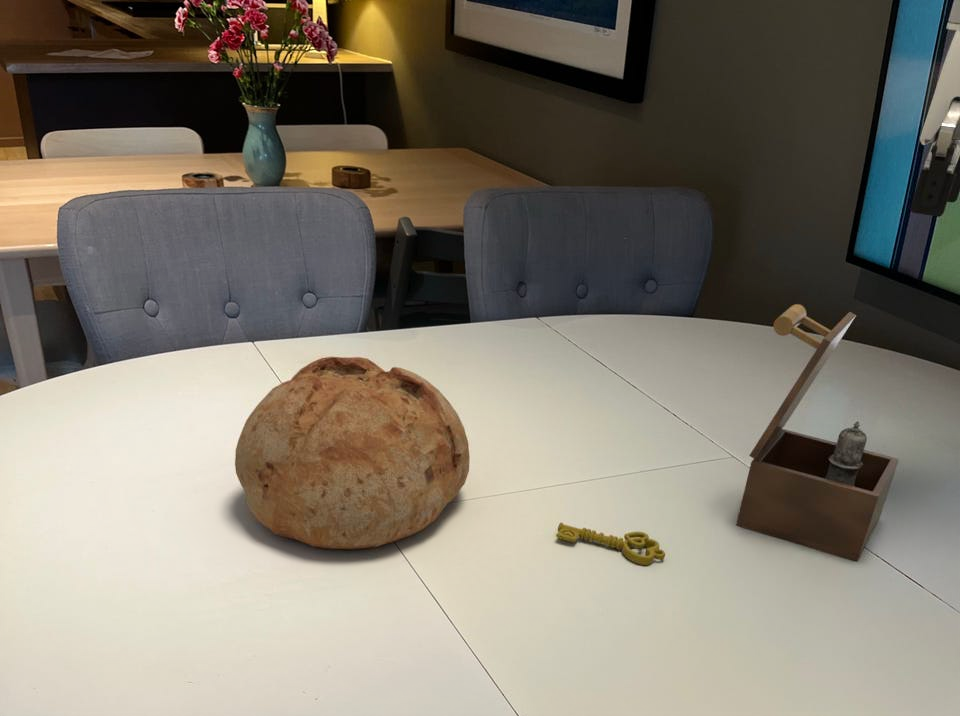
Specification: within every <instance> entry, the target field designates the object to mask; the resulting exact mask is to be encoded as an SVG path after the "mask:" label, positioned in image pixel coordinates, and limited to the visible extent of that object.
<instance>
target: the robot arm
mask: <svg viewBox="0 0 960 716" xmlns="http://www.w3.org/2000/svg"><path fill="white" fill-rule="evenodd" d="M945 29H946V30H951V31H955V33H954V35H953V38H952V40H951V43H950V45H949V48H948V50H947V53H946V56H945V59H944V62H943V66H942V68H941V71H940V74H939V77H938V80H937V83H936V87H935V90H934V92H933V93H934V94H933V96H932V100H931V102H930V106H929V108H928V112H927V115H926V118H925V122H924V124H923V127H922V130H921V134H920V136H919V142H920V143H921V145H923V146H927V145H928V144H930V143H932V144H931V146H930V149H929V151H928V154H927V157H926V159H925V162H924V165H923V168H921V171H920V174H919V177H918V181H917V184H916V187H915V191H914V193H913V198H912V201H911V204H910V208H909V209H910V210H909V211H910V212H911V213H913V214H917V215H925V216H930V217H937V218H939V217H941V216H942V217H943V215H944V213H945V211H946V206H947V204H948V203H955V202H956V201H958V198H959V195H960V0H953V3H952V7H951V10H950V13H949V17H948V20H947V24H946V28H945Z"/></svg>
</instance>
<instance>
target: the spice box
mask: <svg viewBox="0 0 960 716" xmlns="http://www.w3.org/2000/svg"><path fill="white" fill-rule="evenodd" d="M836 444H837V441H836V442H835V441H831V440H828V439H824V438H819V437H816V436H813V435H808V434H804V433H800V432H797V431H792V430H789V429H785V428H782V429H781V430H780V432H779V433H778V434H777V435H776V436H775V437H774V439H773V440H772V441H771V442H770V443H769V444H768V446H767V447H766V448H765V449H764V450H763V451H762V453H761V454H760V455H759V456H758V457H757V458H756V459H754V458H752V460H751V462H750V467H749V470H748V474H747V479H746V481H745V486H744V490H743V494H742V499H741V501H740V502H741V503H740V507H739V511H738V515H737V519H736V523H735V526H738V527H742V528H745V529H748V530H752V531H755V532H759V533H762V534H764V535H767V536H771V537H774V538H778V539H782V540H785V541H788V542H791V543H795V544H797V545H798V544H799V545H801V546H804V547H808V548H812V549H814V550H818V551H822V552H826V553H828V554H831V555H836V556H838V557H841V558H845V559H848V560H851V561H855V562H858V561H859V559H860V557H861V555H862V554H863V551H864V550H865V548H866V546H867V544H868V542H869V541H870V538H871V536H872V534H873V532H874V530H875V529H876V526H877V525H878V523H879V521H880V518H881V515H882V512H883V508H884V506H885V503H886V500H887V497H888V494H889V491H890V488H891V485H892V482H893V479H894V477H895V473H896V471H897V467H898V465H899V461H900V458H898V457H894V456H890V455H887V454H882V453H877V452H874V451H869V450H867V449H864V451H863V454H862V457H861V460H860V461H861V462H862V463H863V466H862V467H861V468H859V469H858V472H857V475H856V479H855V484H854V487H853V486H850V485H846V484H842V483H839V482H835V481H831V480H828V479H825V477H826V475H827V473H828V469H829V466H830V461H829V457H830V456H831V455H834V451H835V448H836Z"/></svg>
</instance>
